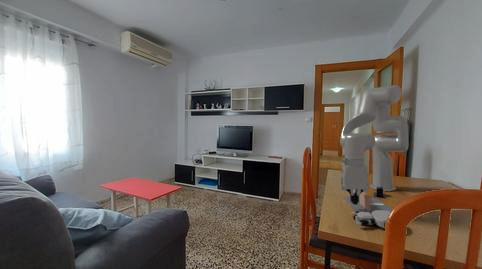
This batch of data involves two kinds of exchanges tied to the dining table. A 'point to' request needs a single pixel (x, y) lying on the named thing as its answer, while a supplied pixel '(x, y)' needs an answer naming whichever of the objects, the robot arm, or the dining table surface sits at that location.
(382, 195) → the black block
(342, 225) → the dining table surface
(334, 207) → the dining table surface
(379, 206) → the board
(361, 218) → the robot toy
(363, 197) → the folding fence panel
